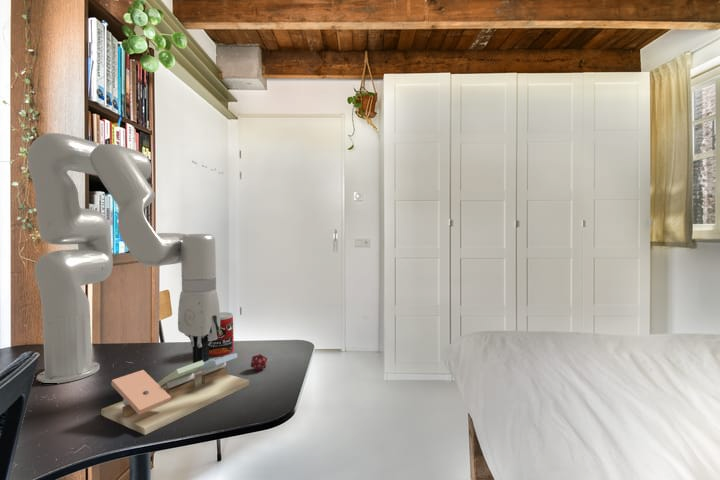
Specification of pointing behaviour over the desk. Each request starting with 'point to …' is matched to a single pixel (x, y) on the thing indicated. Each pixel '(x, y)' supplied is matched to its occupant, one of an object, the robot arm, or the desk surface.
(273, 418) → the desk surface
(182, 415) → the board
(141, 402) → the tile
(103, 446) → the desk surface
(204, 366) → the tile
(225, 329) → the canned food
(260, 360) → the dice
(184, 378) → the tile
